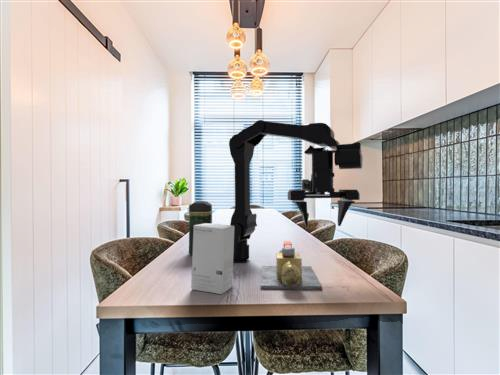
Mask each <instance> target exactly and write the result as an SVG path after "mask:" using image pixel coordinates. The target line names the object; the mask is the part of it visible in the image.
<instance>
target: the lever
mask: <svg viewBox="0 0 500 375" xmlns="http://www.w3.org/2000/svg"><path fill="white" fill-rule="evenodd" d="M292 245H293V244H292V241H291V240H290V241H289V240H284V241H283V247H282V248H281V250H282V255H283V256H294V255H295V253H296V250H295V248H294V247H292Z"/></svg>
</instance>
